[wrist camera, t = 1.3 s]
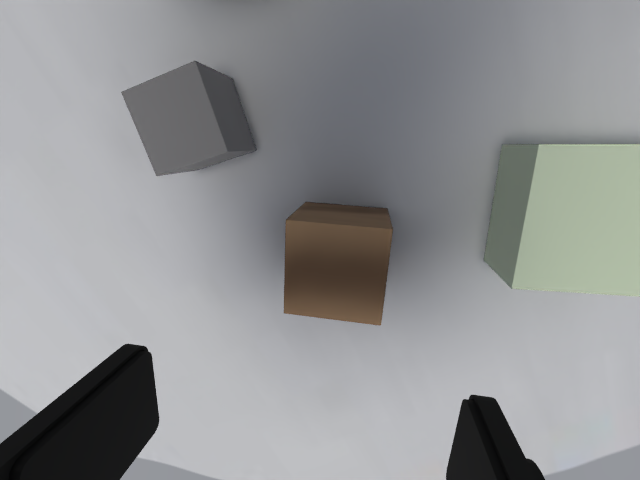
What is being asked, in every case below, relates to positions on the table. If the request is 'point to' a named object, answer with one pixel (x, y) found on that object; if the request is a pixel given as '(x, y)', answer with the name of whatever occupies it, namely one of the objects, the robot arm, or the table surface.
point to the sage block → (567, 218)
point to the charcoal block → (189, 119)
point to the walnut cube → (337, 262)
